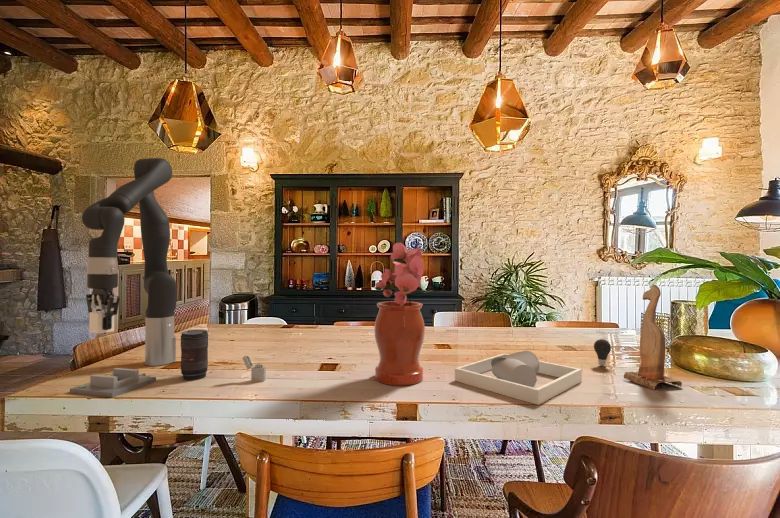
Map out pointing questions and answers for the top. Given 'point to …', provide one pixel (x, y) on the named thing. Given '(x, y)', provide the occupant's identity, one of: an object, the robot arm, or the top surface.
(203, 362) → the camera lens
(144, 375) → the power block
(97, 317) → the charger block
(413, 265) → the potted flower
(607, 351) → the light bulb
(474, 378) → the roll tray
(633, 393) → the top surface
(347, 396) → the top surface
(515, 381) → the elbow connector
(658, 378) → the bird sculpture
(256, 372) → the lighter
